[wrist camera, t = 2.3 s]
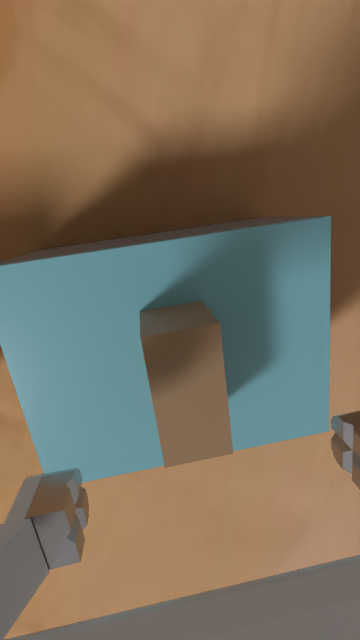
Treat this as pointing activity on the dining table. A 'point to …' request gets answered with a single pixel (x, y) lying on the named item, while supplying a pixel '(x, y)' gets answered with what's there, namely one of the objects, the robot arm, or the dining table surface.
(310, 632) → the robot arm
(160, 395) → the teal lid
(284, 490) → the dining table surface
